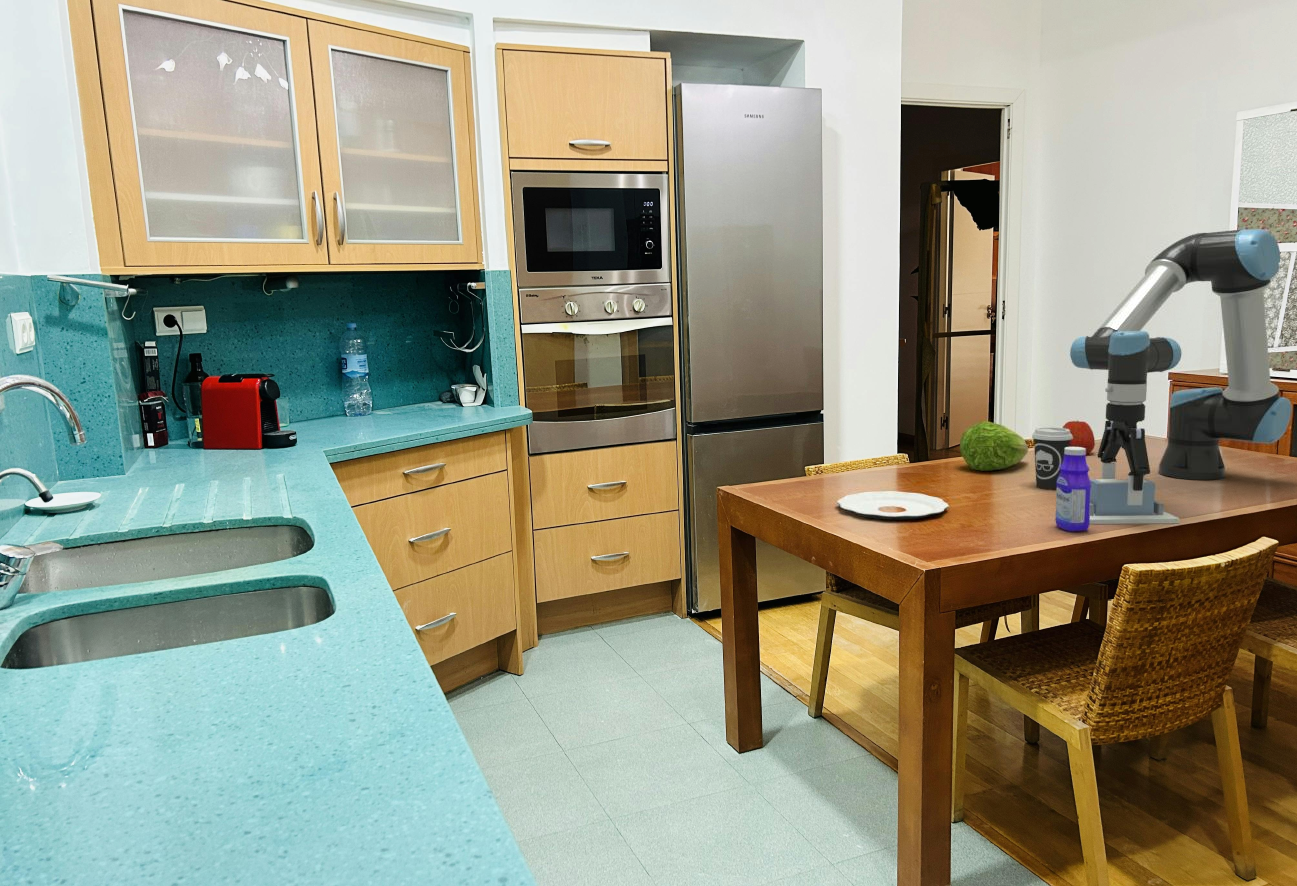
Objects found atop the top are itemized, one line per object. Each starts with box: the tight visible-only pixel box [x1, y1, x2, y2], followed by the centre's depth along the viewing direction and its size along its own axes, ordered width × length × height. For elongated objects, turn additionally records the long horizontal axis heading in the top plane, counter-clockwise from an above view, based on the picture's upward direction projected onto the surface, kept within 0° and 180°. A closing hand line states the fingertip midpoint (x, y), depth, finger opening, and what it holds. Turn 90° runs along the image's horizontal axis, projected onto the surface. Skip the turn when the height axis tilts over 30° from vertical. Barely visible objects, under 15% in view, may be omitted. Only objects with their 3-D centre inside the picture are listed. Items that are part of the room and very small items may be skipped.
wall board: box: [1089, 499, 1180, 525], centre depth 195 cm, size 19×13×3 cm
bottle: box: [1054, 447, 1091, 532], centre depth 185 cm, size 7×6×17 cm
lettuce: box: [959, 421, 1029, 472], centre depth 252 cm, size 14×24×15 cm
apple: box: [1062, 419, 1096, 455], centre depth 269 cm, size 10×10×10 cm
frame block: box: [1089, 477, 1156, 515], centre depth 194 cm, size 12×5×7 cm, turn 85°
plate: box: [836, 490, 950, 521], centre depth 208 cm, size 25×25×2 cm
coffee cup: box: [1031, 426, 1073, 491], centre depth 225 cm, size 10×10×15 cm
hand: (1120, 497), depth 194 cm, fingers open, 13 cm apart
